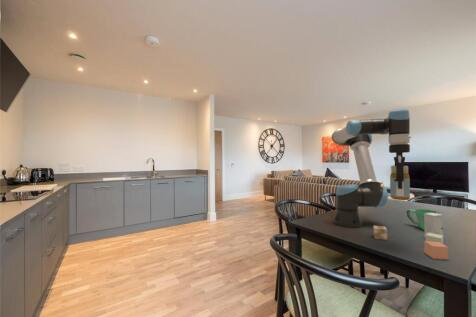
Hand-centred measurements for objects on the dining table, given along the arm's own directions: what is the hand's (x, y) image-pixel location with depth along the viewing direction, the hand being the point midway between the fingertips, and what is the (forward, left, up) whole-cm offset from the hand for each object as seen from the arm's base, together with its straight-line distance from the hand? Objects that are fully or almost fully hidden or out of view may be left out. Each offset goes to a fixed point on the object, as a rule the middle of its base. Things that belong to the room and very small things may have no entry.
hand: (399, 194), depth 95 cm
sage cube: (+12, +6, -23) cm, 27 cm away
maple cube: (-8, +5, -23) cm, 25 cm away
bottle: (0, 0, -2) cm, 2 cm away
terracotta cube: (+11, -6, -23) cm, 26 cm away
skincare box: (+13, +17, -23) cm, 31 cm away
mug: (+10, +33, -23) cm, 41 cm away
